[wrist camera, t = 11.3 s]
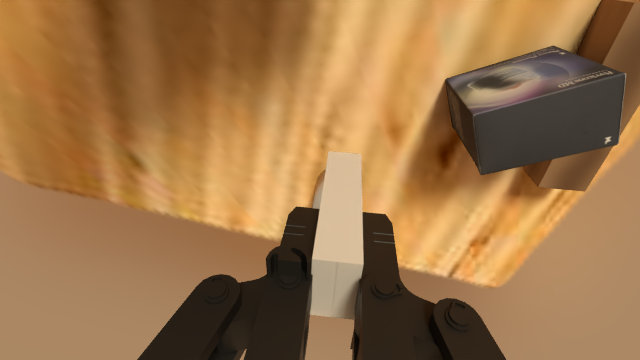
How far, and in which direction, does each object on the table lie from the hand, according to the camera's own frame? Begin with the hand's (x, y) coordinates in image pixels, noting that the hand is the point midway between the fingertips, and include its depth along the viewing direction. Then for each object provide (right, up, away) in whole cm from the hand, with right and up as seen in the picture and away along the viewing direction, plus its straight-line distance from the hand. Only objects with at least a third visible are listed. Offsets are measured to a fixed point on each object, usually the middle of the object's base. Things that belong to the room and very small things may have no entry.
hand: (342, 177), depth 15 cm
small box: (+18, +10, +19) cm, 28 cm away
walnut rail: (+26, +9, +18) cm, 33 cm away
